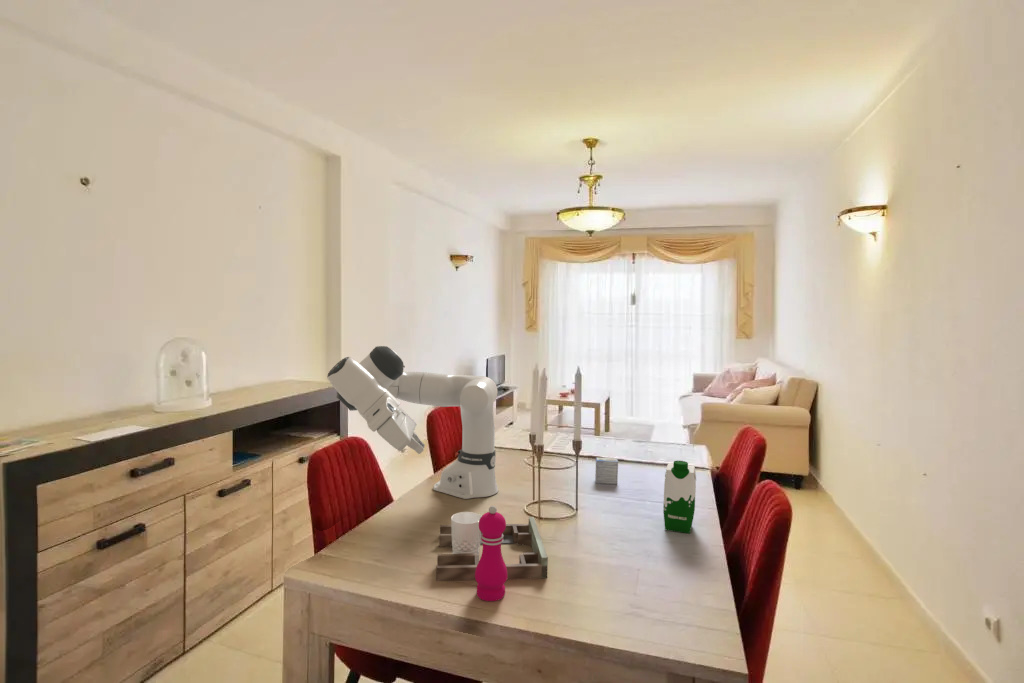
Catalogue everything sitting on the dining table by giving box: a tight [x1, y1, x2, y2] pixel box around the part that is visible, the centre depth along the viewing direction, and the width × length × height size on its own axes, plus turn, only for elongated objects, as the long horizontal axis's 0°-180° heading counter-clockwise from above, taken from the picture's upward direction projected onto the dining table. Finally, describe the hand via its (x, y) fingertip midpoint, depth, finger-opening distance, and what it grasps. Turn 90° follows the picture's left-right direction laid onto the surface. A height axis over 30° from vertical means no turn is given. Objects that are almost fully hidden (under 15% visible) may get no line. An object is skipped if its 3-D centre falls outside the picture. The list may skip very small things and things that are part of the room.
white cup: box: [450, 511, 482, 555], centre depth 141 cm, size 8×8×10 cm
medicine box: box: [594, 457, 619, 485], centre depth 204 cm, size 8×4×9 cm, turn 84°
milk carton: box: [662, 460, 697, 535], centre depth 163 cm, size 9×9×20 cm
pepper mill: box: [475, 505, 508, 602], centre depth 122 cm, size 7×7×20 cm
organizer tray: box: [435, 516, 549, 581], centre depth 142 cm, size 26×25×5 cm
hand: (422, 449), depth 139 cm, fingers closed
